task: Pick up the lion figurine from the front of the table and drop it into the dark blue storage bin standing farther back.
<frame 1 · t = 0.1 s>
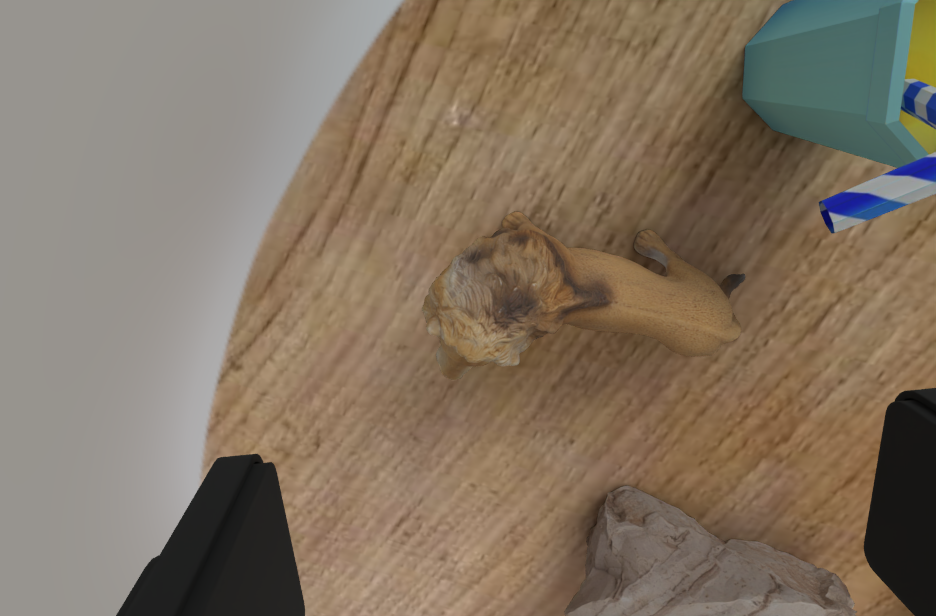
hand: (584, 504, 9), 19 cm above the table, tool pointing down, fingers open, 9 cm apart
lion figurine: (571, 272, 29), on the table
cup: (778, 77, 26), on the table
stone: (679, 541, 34), on the table
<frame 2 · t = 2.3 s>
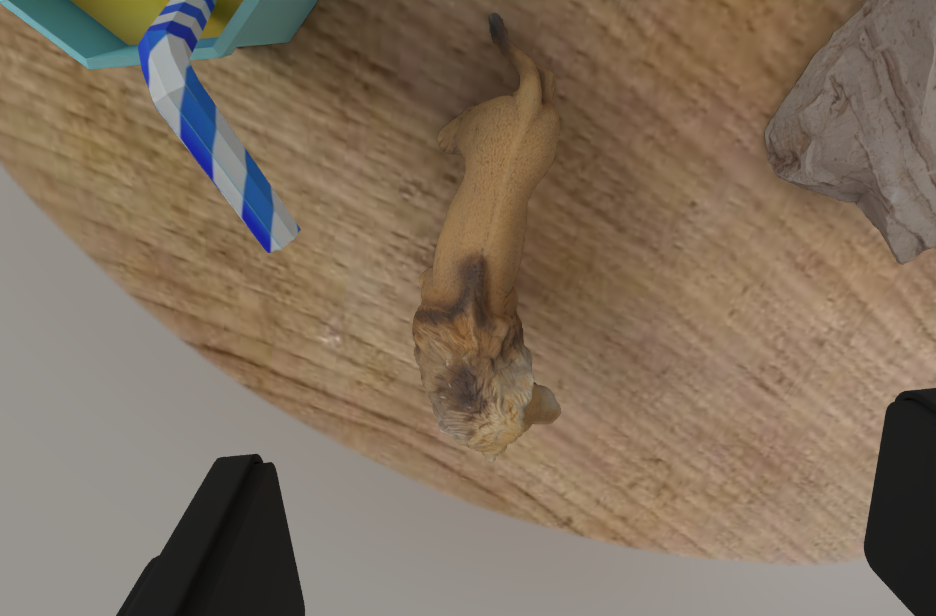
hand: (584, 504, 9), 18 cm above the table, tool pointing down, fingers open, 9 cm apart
lion figurine: (486, 217, 26), on the table
stone: (869, 44, 25), on the table
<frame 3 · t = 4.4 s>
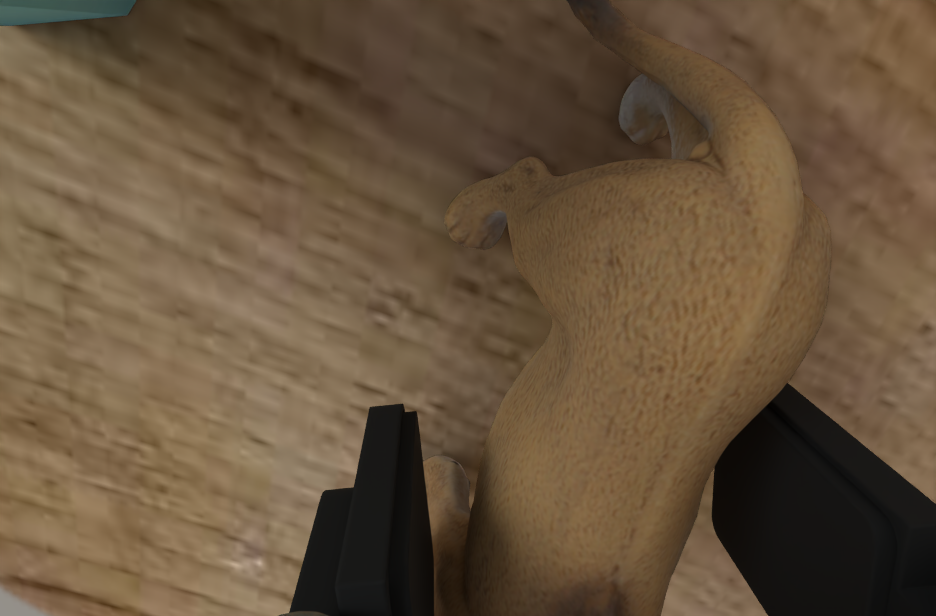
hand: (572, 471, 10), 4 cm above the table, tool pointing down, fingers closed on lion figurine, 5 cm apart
lion figurine: (535, 357, 14), on the table, touching gripper
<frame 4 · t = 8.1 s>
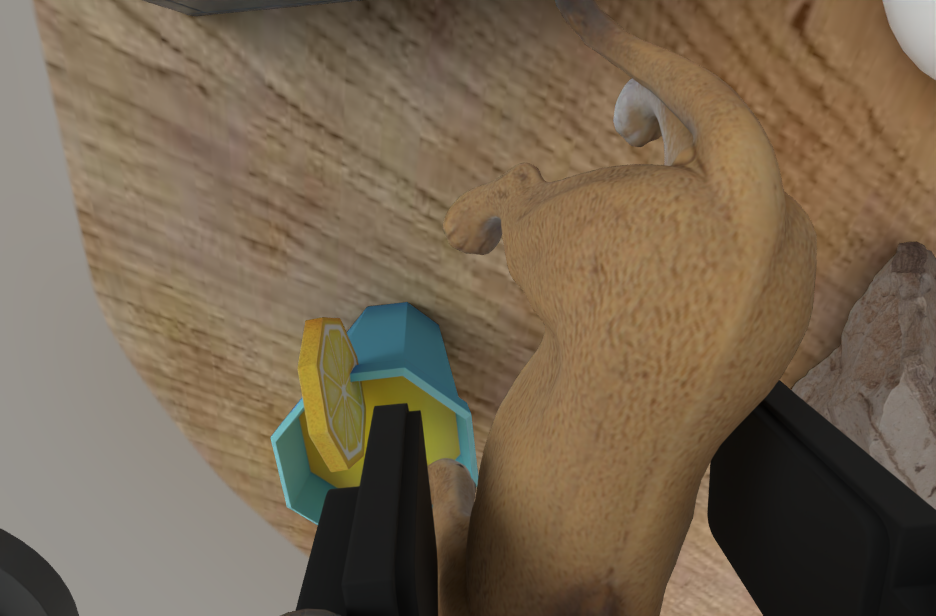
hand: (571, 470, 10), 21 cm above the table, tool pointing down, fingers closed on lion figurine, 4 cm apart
lion figurine: (538, 359, 14), point 17 cm above the table, touching gripper
cup: (403, 360, 33), on the table
stone: (836, 371, 34), on the table
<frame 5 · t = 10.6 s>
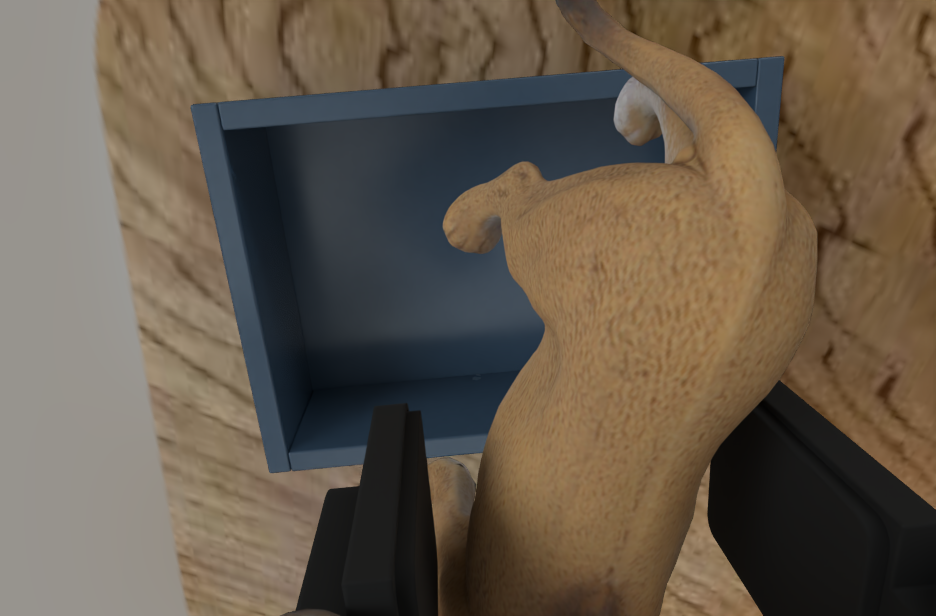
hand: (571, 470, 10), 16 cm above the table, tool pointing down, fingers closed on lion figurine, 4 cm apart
lion figurine: (538, 358, 14), point 12 cm above the table, touching gripper
dark blue storage bin: (488, 243, 26), on the table
when the fingers open (6 cm above the table, at t = 13.0 s): lion figurine stays where it is, resting on dark blue storage bin.
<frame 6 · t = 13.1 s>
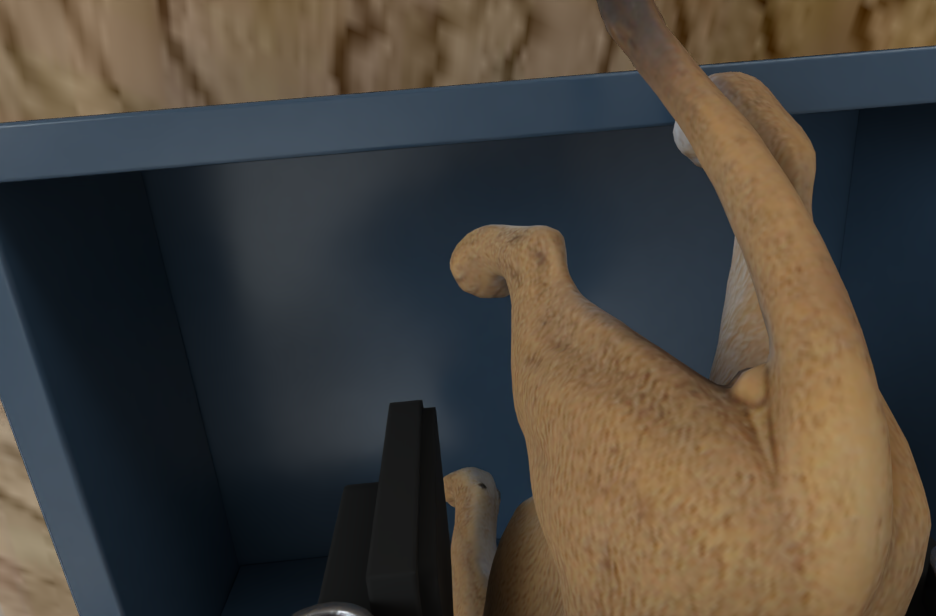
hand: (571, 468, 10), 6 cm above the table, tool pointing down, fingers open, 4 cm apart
lion figurine: (569, 376, 12), point 4 cm above the table, touching dark blue storage bin
dark blue storage bin: (514, 340, 16), on the table
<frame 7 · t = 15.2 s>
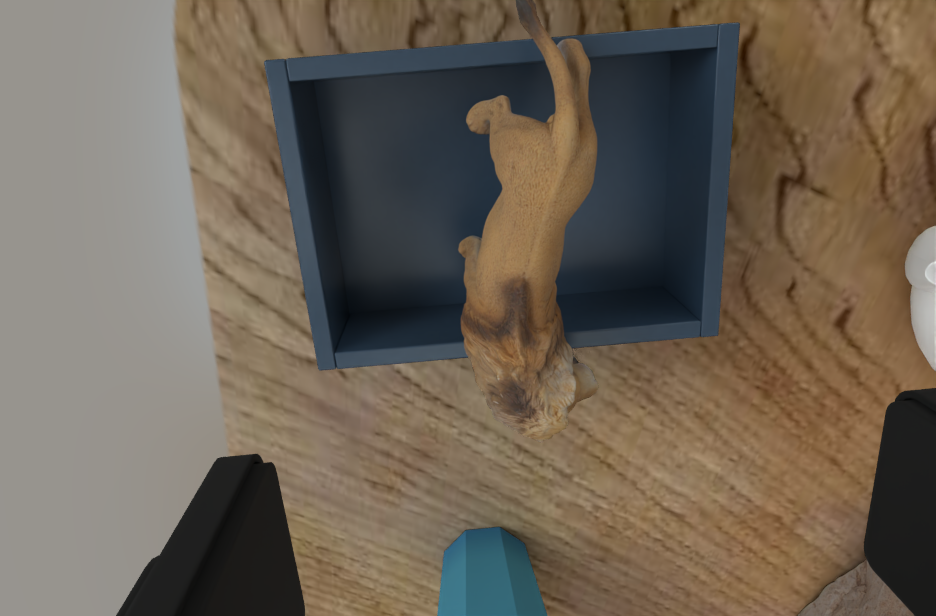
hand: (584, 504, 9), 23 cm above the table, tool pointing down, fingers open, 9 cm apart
lion figurine: (519, 184, 26), point 4 cm above the table, touching dark blue storage bin
cup: (491, 568, 39), on the table
stone: (860, 576, 40), on the table
dark blue storage bin: (498, 188, 30), on the table
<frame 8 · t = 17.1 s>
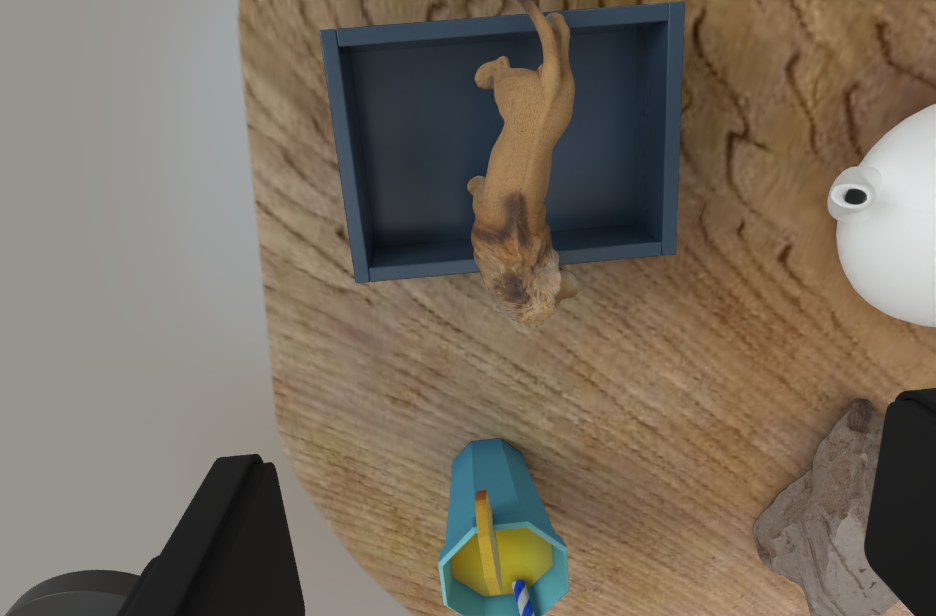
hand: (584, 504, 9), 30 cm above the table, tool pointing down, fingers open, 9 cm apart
lion figurine: (516, 132, 33), point 4 cm above the table, touching dark blue storage bin
cup: (493, 477, 45), on the table
stone: (809, 484, 47), on the table
teapot: (904, 203, 40), on the table
dark blue storage bin: (499, 142, 37), on the table
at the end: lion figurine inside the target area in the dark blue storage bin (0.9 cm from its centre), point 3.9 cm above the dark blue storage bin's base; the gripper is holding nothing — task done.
